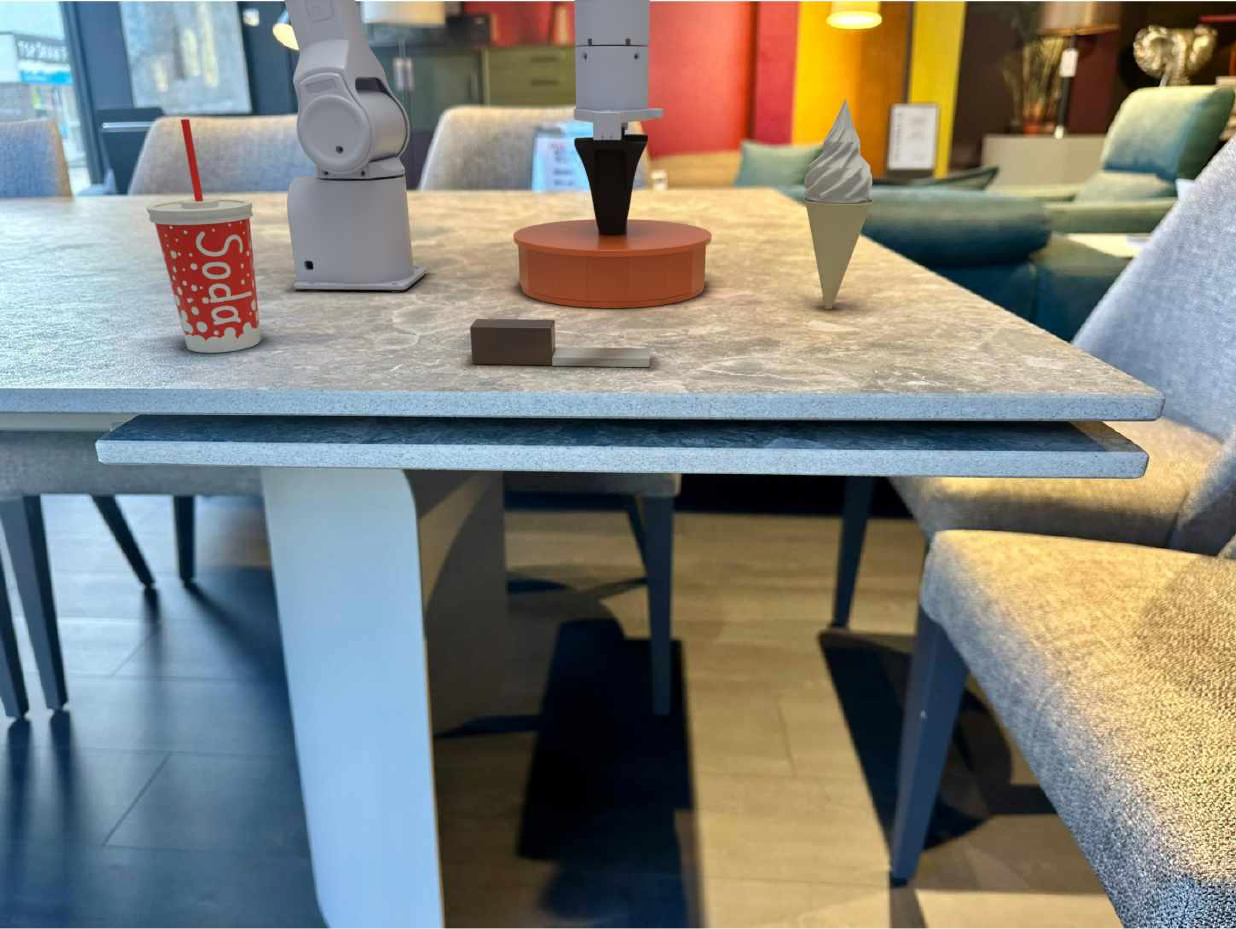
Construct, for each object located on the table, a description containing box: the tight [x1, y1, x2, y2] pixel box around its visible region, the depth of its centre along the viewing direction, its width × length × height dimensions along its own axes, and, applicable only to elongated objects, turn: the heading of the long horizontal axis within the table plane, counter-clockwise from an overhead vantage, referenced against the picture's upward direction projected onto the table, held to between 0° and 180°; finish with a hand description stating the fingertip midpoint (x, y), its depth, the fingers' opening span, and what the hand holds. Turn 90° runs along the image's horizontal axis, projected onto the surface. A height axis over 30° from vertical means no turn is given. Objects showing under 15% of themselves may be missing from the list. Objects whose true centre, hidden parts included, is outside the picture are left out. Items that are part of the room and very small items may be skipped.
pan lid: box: [512, 218, 713, 257], centre depth 75 cm, size 16×16×5 cm
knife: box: [469, 318, 651, 368], centre depth 56 cm, size 11×2×2 cm, turn 87°
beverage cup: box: [146, 118, 262, 354], centre depth 58 cm, size 6×6×14 cm
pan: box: [517, 245, 707, 309], centre depth 76 cm, size 15×15×4 cm
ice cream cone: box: [803, 98, 874, 310], centre depth 67 cm, size 5×5×15 cm
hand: (612, 228), depth 75 cm, fingers closed on pan lid, 2 cm apart
